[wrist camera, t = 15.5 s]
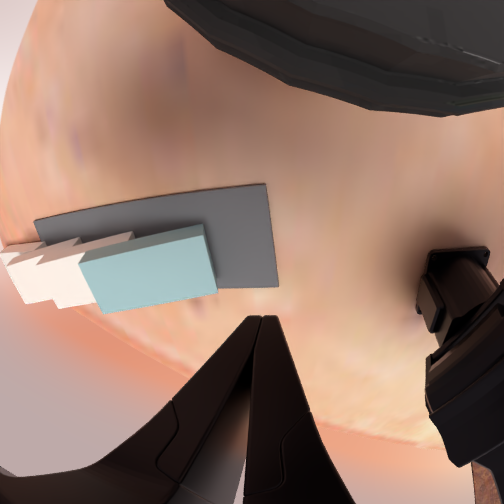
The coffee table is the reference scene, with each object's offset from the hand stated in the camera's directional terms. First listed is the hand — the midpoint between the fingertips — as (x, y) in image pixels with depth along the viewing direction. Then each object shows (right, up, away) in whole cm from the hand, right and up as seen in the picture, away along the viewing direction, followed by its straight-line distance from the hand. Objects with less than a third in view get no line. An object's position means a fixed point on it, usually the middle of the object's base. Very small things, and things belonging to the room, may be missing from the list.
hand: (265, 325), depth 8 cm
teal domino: (-4, +2, +14) cm, 14 cm away
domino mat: (-11, +2, +16) cm, 20 cm away
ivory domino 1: (-16, +1, +16) cm, 23 cm away
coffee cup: (+4, +16, +5) cm, 18 cm away
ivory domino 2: (-10, +1, +15) cm, 18 cm away
